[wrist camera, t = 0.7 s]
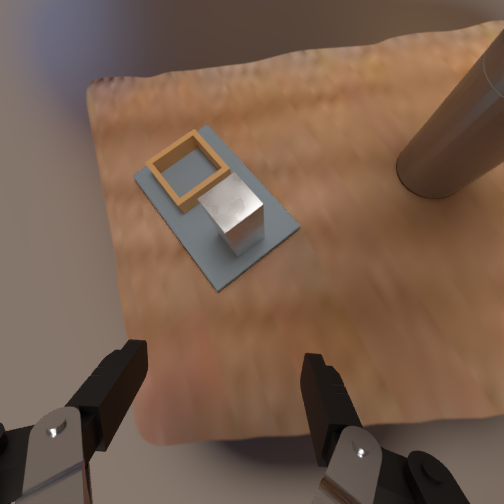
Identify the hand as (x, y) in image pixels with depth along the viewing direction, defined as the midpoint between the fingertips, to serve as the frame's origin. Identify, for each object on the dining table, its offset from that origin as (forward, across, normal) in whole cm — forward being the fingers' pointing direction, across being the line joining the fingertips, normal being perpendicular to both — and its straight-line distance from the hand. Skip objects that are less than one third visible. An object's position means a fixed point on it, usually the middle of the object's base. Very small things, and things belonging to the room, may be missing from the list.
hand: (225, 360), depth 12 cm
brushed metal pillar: (+21, 0, -1) cm, 21 cm away
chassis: (+25, +5, -5) cm, 26 cm away
